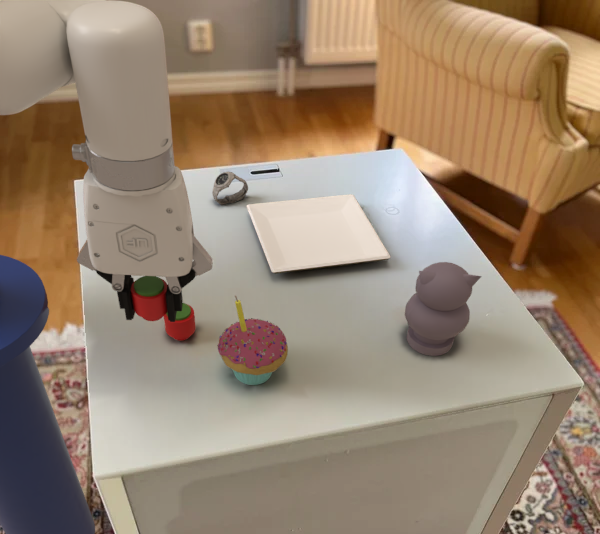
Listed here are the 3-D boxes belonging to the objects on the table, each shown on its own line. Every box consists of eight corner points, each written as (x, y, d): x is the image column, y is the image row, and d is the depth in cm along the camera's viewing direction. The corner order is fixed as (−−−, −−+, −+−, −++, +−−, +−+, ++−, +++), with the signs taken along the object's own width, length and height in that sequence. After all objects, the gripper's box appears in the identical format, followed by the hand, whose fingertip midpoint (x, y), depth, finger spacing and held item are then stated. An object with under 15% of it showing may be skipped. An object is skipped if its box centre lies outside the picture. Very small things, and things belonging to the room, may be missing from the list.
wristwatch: (210, 199, 109) (208, 172, 105) (243, 192, 111) (242, 165, 107) (218, 209, 107) (217, 182, 103) (251, 202, 109) (251, 174, 105)
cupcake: (213, 390, 79) (207, 317, 70) (227, 344, 85) (224, 271, 76) (281, 400, 79) (284, 327, 70) (291, 353, 84) (295, 280, 76)
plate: (352, 203, 110) (353, 192, 109) (389, 267, 98) (391, 256, 97) (246, 214, 106) (245, 203, 105) (271, 282, 94) (272, 271, 93)
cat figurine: (456, 322, 90) (478, 251, 81) (465, 361, 85) (489, 289, 76) (397, 319, 90) (412, 247, 81) (401, 357, 85) (418, 285, 76)
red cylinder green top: (132, 325, 71) (127, 295, 67) (137, 301, 73) (133, 272, 70) (168, 326, 71) (165, 297, 68) (172, 303, 74) (169, 273, 70)
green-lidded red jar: (173, 348, 84) (170, 324, 81) (161, 330, 86) (157, 306, 83) (201, 338, 86) (199, 314, 82) (188, 321, 88) (186, 297, 85)
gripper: (28, 176, 55) (69, 332, 69) (221, 187, 56) (225, 338, 70) (49, 135, 60) (84, 288, 74) (226, 146, 61) (228, 295, 75)
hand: (152, 311), depth 72 cm, fingers closed on red cylinder green top, 4 cm apart
